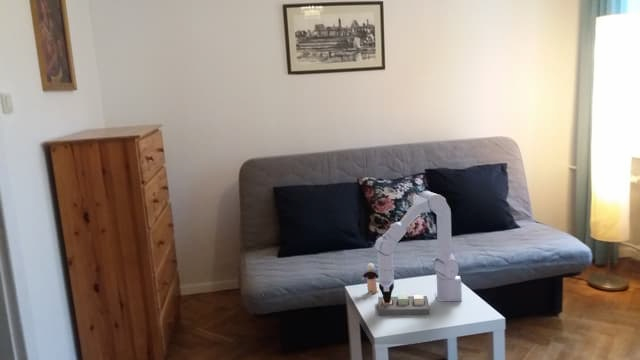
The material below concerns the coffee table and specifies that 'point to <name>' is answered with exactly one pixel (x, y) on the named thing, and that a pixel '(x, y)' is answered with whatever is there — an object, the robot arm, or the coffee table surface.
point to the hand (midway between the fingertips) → (387, 302)
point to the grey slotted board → (403, 307)
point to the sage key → (402, 300)
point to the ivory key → (418, 300)
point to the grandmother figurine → (371, 279)
